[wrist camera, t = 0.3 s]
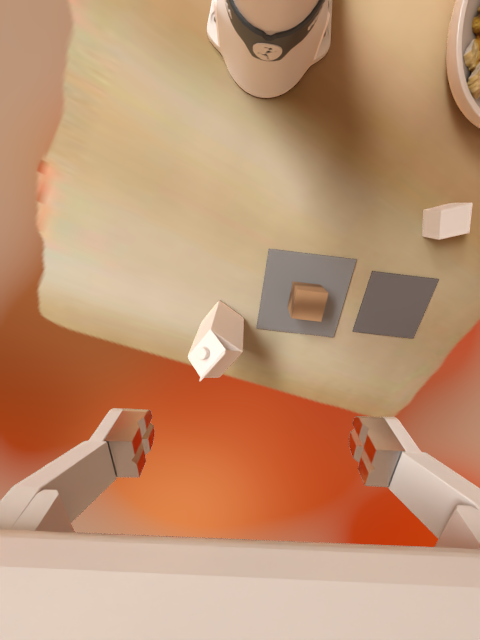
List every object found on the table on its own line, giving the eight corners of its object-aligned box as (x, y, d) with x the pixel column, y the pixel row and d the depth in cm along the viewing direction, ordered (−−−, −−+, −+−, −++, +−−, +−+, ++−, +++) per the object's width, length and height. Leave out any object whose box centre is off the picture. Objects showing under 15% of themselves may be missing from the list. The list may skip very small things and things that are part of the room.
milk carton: (244, 317, 59) (242, 364, 42) (225, 339, 61) (216, 392, 44) (219, 299, 57) (206, 340, 40) (201, 322, 60) (181, 369, 42)
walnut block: (292, 281, 55) (297, 289, 49) (320, 284, 55) (328, 293, 49) (287, 307, 57) (291, 318, 52) (314, 310, 57) (321, 321, 52)
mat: (372, 271, 54) (372, 271, 54) (438, 279, 54) (439, 279, 54) (352, 331, 59) (353, 331, 59) (412, 337, 60) (413, 338, 59)
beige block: (423, 209, 49) (441, 210, 44) (451, 202, 48) (472, 202, 44) (422, 236, 51) (439, 239, 46) (449, 230, 50) (469, 232, 46)
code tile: (268, 248, 53) (269, 249, 52) (356, 259, 53) (356, 259, 53) (256, 327, 60) (256, 328, 59) (333, 336, 60) (333, 337, 60)
